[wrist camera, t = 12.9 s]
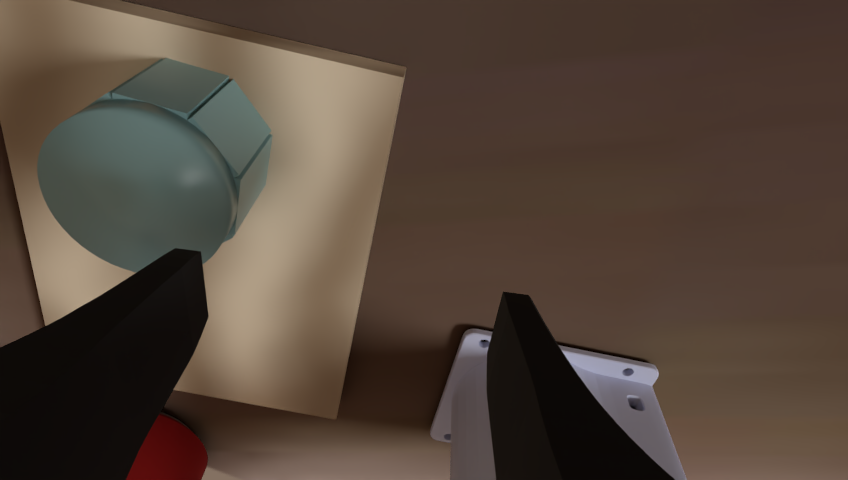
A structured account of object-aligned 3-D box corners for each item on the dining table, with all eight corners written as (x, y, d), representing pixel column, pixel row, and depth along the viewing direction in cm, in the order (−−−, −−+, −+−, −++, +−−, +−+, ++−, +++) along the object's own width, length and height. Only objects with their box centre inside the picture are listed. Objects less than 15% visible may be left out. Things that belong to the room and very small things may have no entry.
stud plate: (406, 66, 20) (394, 109, 16) (340, 401, 30) (324, 472, 26) (-6, -29, 19) (-114, -6, 15) (68, 350, 29) (14, 417, 25)
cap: (299, 168, 21) (264, 234, 17) (189, 226, 22) (134, 298, 19) (199, 33, 18) (132, 75, 14) (83, 109, 20) (-4, 165, 16)
